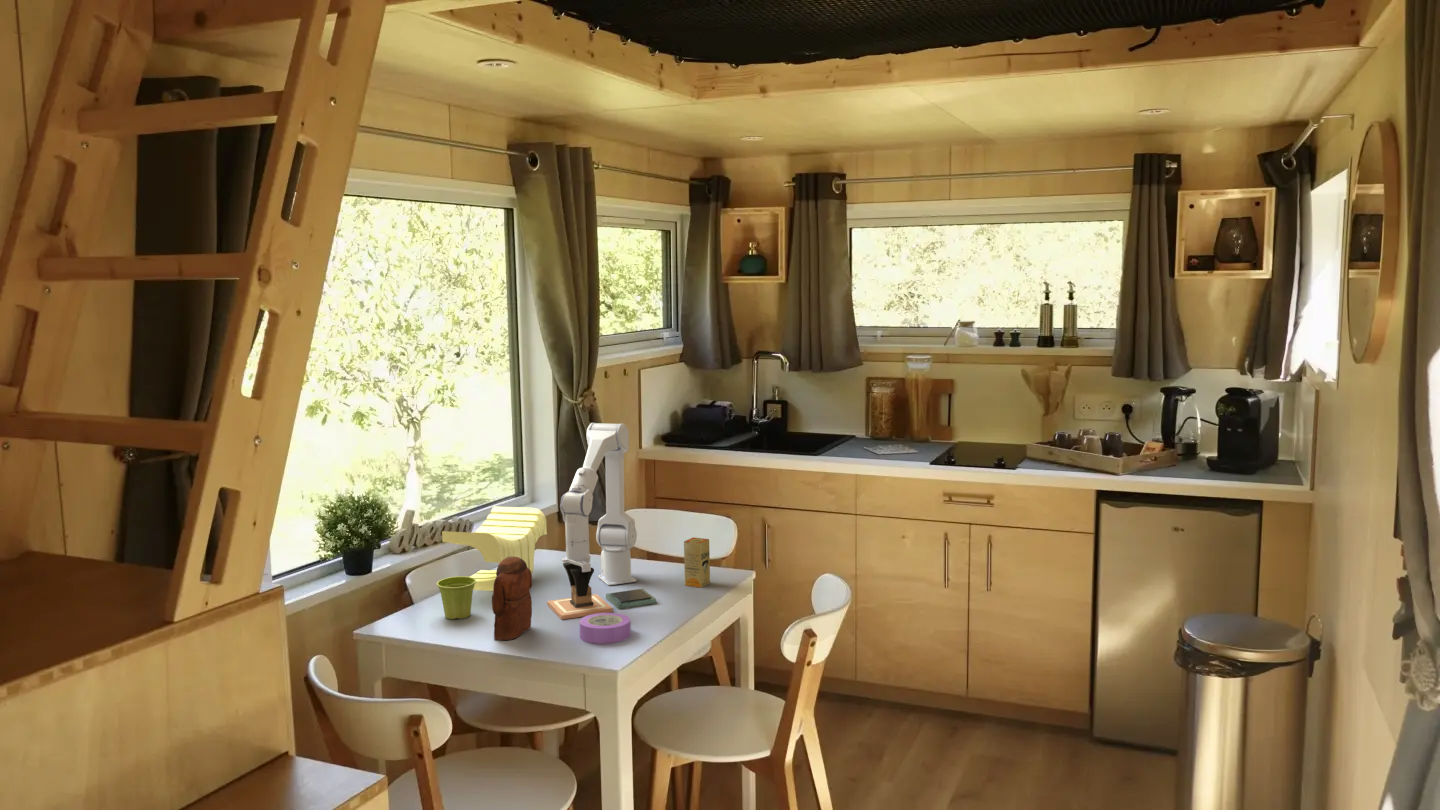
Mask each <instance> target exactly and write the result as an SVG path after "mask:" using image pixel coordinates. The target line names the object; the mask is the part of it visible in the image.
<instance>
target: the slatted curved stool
mask: <svg viewBox="0 0 1440 810" xmlns="http://www.w3.org/2000/svg"><path fill="white" fill-rule="evenodd" d="M547 534H548V532H547V518H546V516H545V514H544V512H543V511H542V510H541V509H538V508H535V507H521V506H519V507H517V506H493V507H492V508H491V510H490V513H489V514H488V515H487V517H486V520H484V521H483V523H482V524H481V526H479V527H478V528H477V529H476V530H475V531H474V532H467V531H466V532H465V531H446V530H445V531H444V530H442V531H441V537H442V539H441V540H442V543H448V544H454V545H455V544H456V545H458V546H459V545H461V546H470V547H473V549H476V550H478V552H479V553H480V554H481V556H482V558H483V561H484V562H485V563H498V564H499V563H500V562H501V561H502V560H503V559H505V558H507V557H519V558H521V559H522V560H524V561H525V562H526V564H527V567H528V568H529V569H530V571H531V574H532V575H533V572H534V570H535V569H534V567H535V565H534V562H535V551H536V546H535V545H536V544H537V542H538V540H539V538H540V537H541V536H544V535H545V536H546V535H547ZM496 571H497V569H493V570H492V569H491V570H487V569H480V570H479V571H477V572H476V573H474V574H472V575H469V577H472V578H475V579H476V583H475V585H474V589H473V591H486V592H488V591H489V592H493V587H494V581H495V578H496V577H497V576H496Z"/></svg>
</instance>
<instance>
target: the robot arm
mask: <svg viewBox="0 0 1440 810" xmlns="http://www.w3.org/2000/svg"><path fill="white" fill-rule="evenodd" d="M586 440H587V441H586V442H587V443H586V444H587V451H586V454H585V458H584V461H583V464H582V467H579V468H578V469H577V470H576V472H575V475H574V477H573V479H572V483H571V484H570V487H569V490H568V491H567V492H565V493H564V494H563V495H562V496H561V497H560V505H559V508H560V513H561V514H562V522H564V527H565V529H564V531H565V557H562V558H561V562H562V566H563V567H564V569H565V572H566V574H567V577H568V581H569V585H570V587H571V586H573V585H576V591H577V595H578V597H581V596H586V595H587V591H588V586H590V585H589V584H590V580H591V578H592V576H593V573H594V572H595V569H594V567H591V555H590V535H589V534H590V530H589V528H590V527H589V515H590V513H592V509H593V500H594V495H593V493H594V490H595V488H596V485H597V483H598V480H599V476H598V474H597V471H598V469H599V467H600V465H601V463H602V461H603V459H604V458H605V461H604V462H605V507H606V508H605V511H606V513H605V514H604V515H603V516H601V517H600V518H599V519H598V520H597V521H598V522H597V528H596V532H595V536H596V537H595V538H596V539H595V540H596V542H597V544H598V546H599V547H601V553H600V574H598V575H597V578H599V580H601V581H603V582H604V583H605V584H606V585H607V586H614V585H622V584H628V583H635V582H636V583H637V579H635V578H634V577H633V576H632V565H631V563H632V562H631V549H632V548H634V546H635V545H636V542H637V538H638V533H637V528H636V521H635V519H634V518H633V517H632V516H630V515H629V514H628V513H626V512H625V460H624V459H625V453H627V452H629V450H630V448H629V447H630V432H629V429H628V427H627V426H626V424H625V423H622V422H621V423H603V422H602V423H598V422H591V423H590V424H589V425H588V427H587V429H586Z"/></svg>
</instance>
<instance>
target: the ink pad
mask: <svg viewBox="0 0 1440 810" xmlns="http://www.w3.org/2000/svg"><path fill="white" fill-rule="evenodd" d="M605 599H606V600H607V601H608V602H609V603H611V604H612V605H613V606H614V607H616V609H618V610H621V609H629V608H633V607H641V606H642V605H643V606H649V604H650V605H655V604H657V599H656V598H655V597H654V596H653V595H652V594H650V593H649V592H647V590H645V589H643V588H637V589H631V590H630V589H629V590H625V591H624V590H623V591H617V592H609V593H605Z"/></svg>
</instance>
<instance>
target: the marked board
mask: <svg viewBox="0 0 1440 810" xmlns="http://www.w3.org/2000/svg"><path fill="white" fill-rule="evenodd" d="M570 600H572V598H571V597H567V598H561V599H560V598H559V599H553V600H547V601H546V603H547V604H546V605H547V606H548V607H549V608H550V609H551V610H552V612H554V614H555V615H556V616H558V618H559V619H560V620H562V621H563V620H568V619H575V618H581V617H582V618H583V617H585V616H588V615H592V614H597V613H614V611H613V610H614V608H613V607H612V606H611V605H610V604H609V603H608V602H606V601H605V600H604V599H603V598H602V597H600V596H599V595H598V594H597V593H595V594H592V602H593V606H586V607H579V608H575V607H574V606H573V605H572V604H571V603H570Z"/></svg>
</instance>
